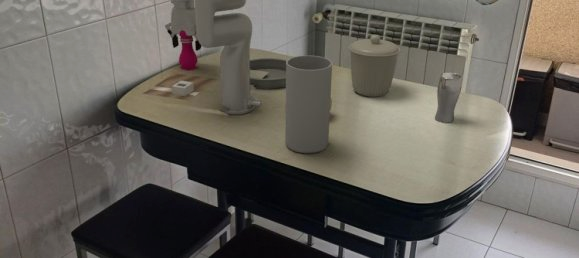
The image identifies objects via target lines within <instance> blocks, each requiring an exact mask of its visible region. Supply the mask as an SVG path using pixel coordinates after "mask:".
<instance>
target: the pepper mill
mask: <svg viewBox="0 0 579 258" xmlns="http://www.w3.org/2000/svg"><path fill="white" fill-rule="evenodd" d="M178 37H180V38H179V39H180V41H179V42H180V43H181V52H180V54H179V56H178V63H179V65H181V66H180V69H181V70H183V71H193V70H195V69H197V68H198V67H197V63H198V56H197V54H196V52H195V49H194V47H193V42H194V36H187V35H186V32H185V31H183V30H181V31H180V34H179V35H178Z"/></svg>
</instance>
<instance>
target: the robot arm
mask: <svg viewBox="0 0 579 258" xmlns="http://www.w3.org/2000/svg"><path fill="white" fill-rule="evenodd" d="M246 2H247V0H170V3H171V4H173V7H172V8H171V14H170V22H169V23H167V24H165V25H164V27H165V29H166V32H167V34H169V36H170V38H171V40H172V41H171V42H172V43H171V44H172V48H173V49H174V48H178V46H179V45H180V44H179V34H180V31H181V30H183V31H185V32H186V35H187V36H192V37H193V38H194V39H195V42H194V45H195V46H194V47H195V51H196V52H198V51H200V50H201V48H206V49H211V48H221V47H223V48H222V51H221V53H220V56H219V57H220V58H219V61H220V63H219V64H220V65H219V66H220V68H219V69H220V85H221V88H220V89H221V91H220V92H221V105H222V107H224V108H226V109H227V110H221V109H219V111H220V112H221V113H223V114H229V115H242V114H243V115H245V114H248V113H250V112H252V111H253V110H255V108H262V106H263V105H262V104H263V103H262V100H261V98H255V97H254V93H251V83H250V77H251V70H250V60H251V58H250V57H251V56H250V55H251V53H250V51H251V40H252V35H253V23H252V20H251V18H250V17H249V16H248V15H247V14H244V13H241V12H233V13H232V12H230V13H225V14H218V15H216V13H218V12H226V11H233V10H234V11H235V10H238V9H241V8H244V7H245V5H246Z"/></svg>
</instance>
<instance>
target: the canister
mask: <svg viewBox="0 0 579 258" xmlns="http://www.w3.org/2000/svg"><path fill="white" fill-rule="evenodd" d="M348 49H349V50H348V51H350V53H349V54H350V55H349V56H350V73H351V74H350V75H351V76H350V77H351V85H352V89H353V91H354V92H356V93H357V94H358V95H359V94H360V95H361V96H366V97H382V96H385V95H386V94H388V92H389V91H390V89H391V88H392V83H393V80H394V75H395V72H396V71H395V70H396V67H397V62H398V56H399V54H400V53H401V51H402V50H401V48H400V47H399V45H397V44H396V43H394V42H392V41H389V40H386V39H381V37H380V35H379V34H372V35H371V36H370V38H364V39H359V40H356V41H354V42H352V43H350V44H349V45H348Z"/></svg>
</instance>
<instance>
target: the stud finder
mask: <svg viewBox="0 0 579 258" xmlns="http://www.w3.org/2000/svg"><path fill="white" fill-rule="evenodd" d="M193 91H194V83H193V82H187V81H180V82H178V83H176V84H175V85H173V86H172V93H173V94H174V95H180V96H186V95H188V94H190V93H191V92H193Z"/></svg>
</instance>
